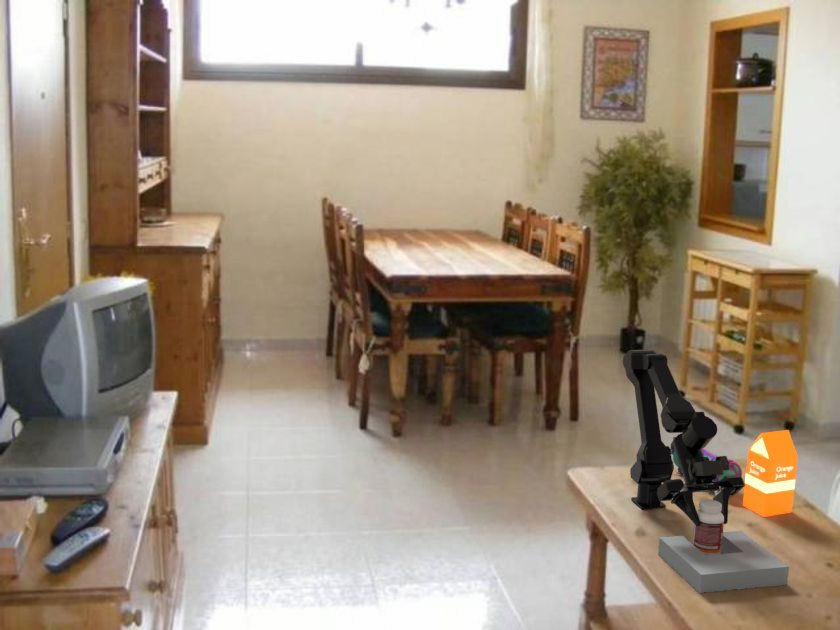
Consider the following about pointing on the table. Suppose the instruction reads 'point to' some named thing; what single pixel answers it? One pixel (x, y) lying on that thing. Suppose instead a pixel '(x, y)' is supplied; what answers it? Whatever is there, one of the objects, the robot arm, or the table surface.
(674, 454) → the pencil case
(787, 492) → the orange juice
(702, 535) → the pill bottle
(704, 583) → the notched board
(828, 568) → the table surface
